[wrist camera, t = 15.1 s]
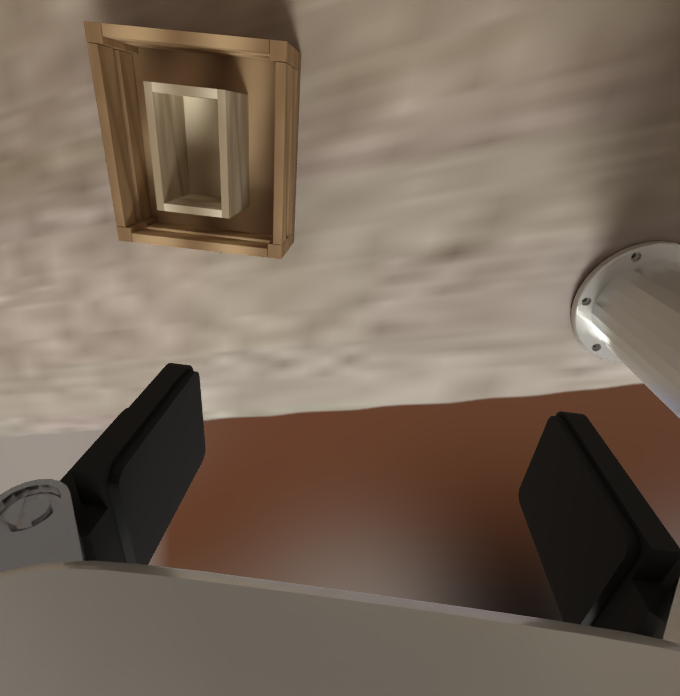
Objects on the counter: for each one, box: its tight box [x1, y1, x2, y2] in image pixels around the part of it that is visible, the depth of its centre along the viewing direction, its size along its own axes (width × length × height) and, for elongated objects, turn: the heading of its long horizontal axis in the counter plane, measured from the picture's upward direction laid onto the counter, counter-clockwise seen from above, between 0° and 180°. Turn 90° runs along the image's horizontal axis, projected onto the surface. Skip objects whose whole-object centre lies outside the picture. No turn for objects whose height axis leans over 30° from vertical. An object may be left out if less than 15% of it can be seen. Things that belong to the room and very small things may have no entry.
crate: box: [84, 21, 301, 259], centre depth 36 cm, size 14×16×6 cm
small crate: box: [143, 81, 249, 219], centre depth 35 cm, size 6×9×6 cm, turn 174°
